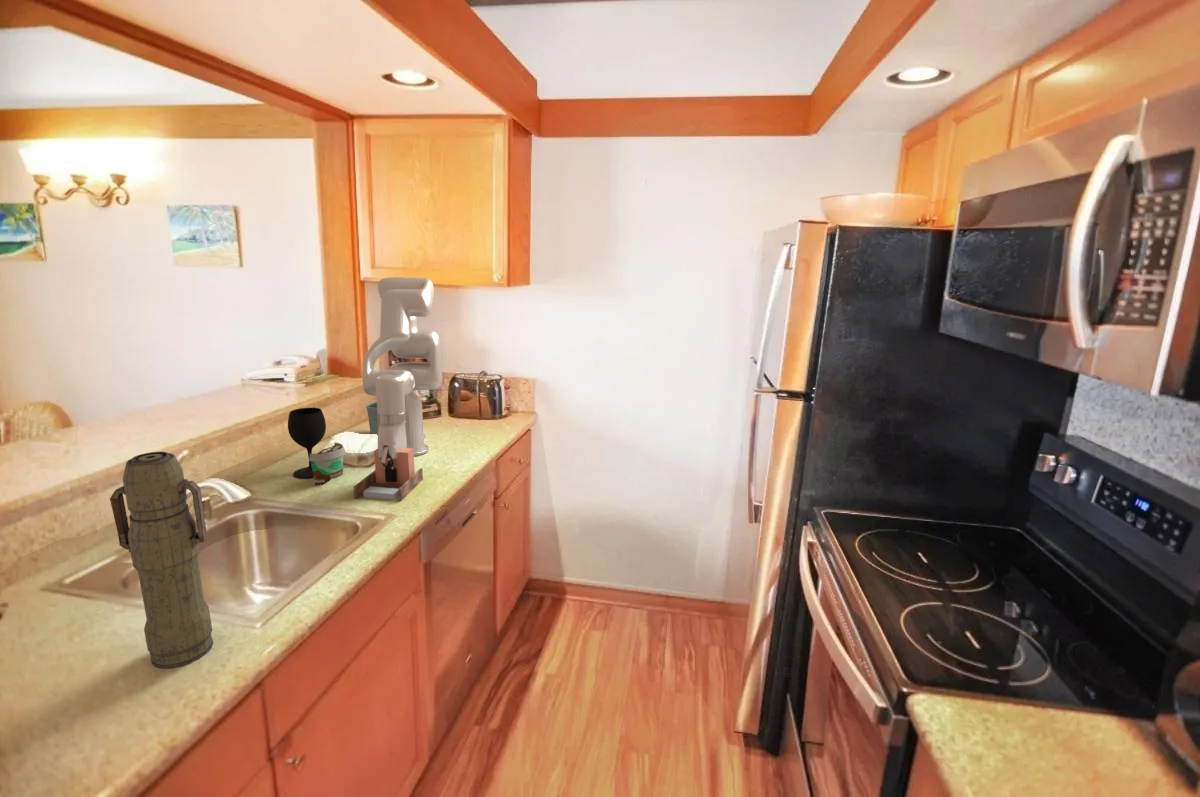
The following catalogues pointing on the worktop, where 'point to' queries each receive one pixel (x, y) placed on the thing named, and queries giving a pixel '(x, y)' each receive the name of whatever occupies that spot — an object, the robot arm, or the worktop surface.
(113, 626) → the worktop surface
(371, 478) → the rack
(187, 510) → the thermos
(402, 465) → the pink slab
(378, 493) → the offcut upper
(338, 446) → the food container
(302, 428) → the wine glass
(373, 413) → the blue-grey embossed cup
